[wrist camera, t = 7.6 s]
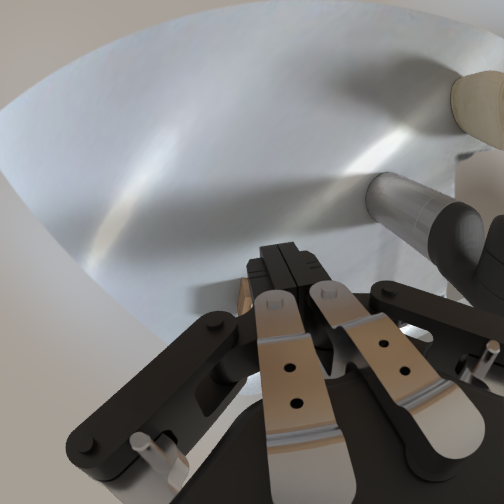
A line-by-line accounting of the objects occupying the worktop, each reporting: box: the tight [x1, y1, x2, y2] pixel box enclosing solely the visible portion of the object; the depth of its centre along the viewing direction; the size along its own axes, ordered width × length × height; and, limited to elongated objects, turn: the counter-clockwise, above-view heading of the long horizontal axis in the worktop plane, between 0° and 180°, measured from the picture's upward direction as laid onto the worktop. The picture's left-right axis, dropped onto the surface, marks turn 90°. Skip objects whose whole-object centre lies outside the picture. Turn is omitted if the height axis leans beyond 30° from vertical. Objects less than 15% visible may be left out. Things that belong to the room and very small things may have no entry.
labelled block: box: [237, 278, 253, 316], centre depth 48 cm, size 6×6×6 cm
